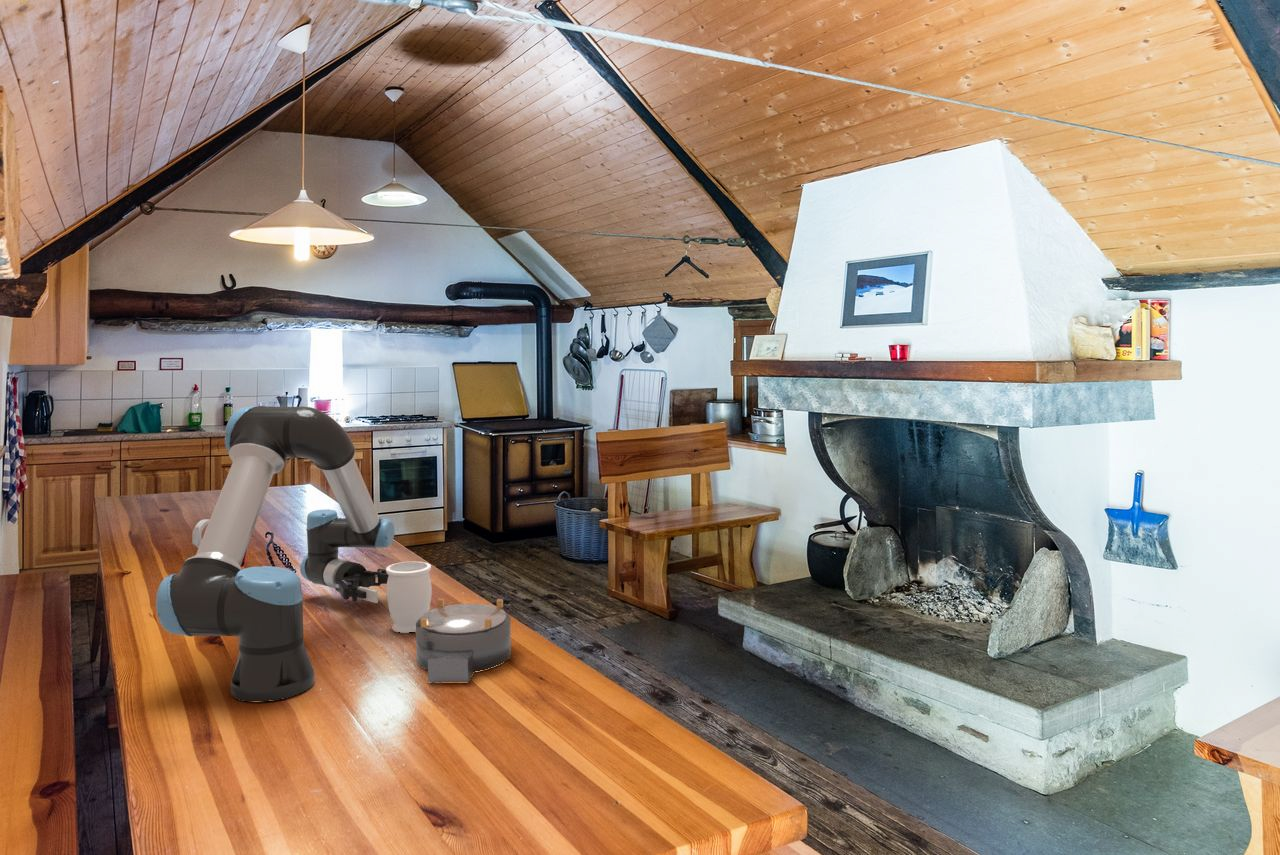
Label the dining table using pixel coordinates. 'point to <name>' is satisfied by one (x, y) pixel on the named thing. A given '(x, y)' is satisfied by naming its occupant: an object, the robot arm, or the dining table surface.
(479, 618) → the cylinder
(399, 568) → the jar
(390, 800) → the dining table surface
